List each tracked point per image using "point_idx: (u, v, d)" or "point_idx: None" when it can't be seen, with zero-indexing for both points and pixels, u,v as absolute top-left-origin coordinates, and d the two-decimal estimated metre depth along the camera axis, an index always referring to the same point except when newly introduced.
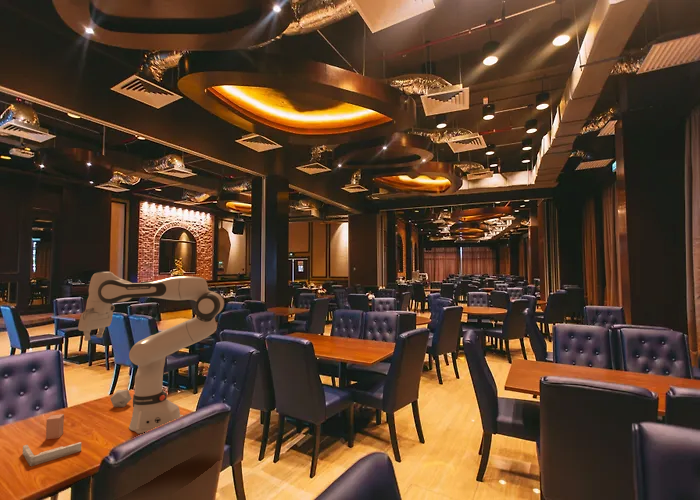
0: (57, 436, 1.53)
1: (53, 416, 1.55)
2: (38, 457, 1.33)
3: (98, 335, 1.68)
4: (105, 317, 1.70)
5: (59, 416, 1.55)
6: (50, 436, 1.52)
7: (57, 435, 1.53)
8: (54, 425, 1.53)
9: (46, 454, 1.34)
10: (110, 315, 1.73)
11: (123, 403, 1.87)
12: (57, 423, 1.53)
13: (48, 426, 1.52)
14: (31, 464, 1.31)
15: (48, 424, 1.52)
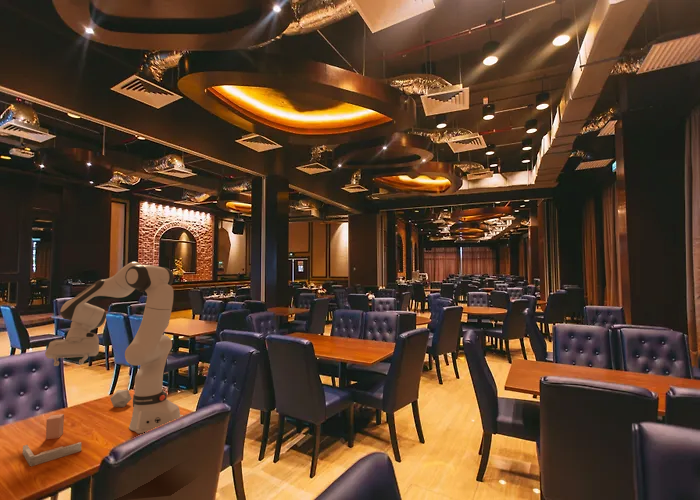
0: (57, 436, 1.53)
1: (53, 416, 1.55)
2: (38, 457, 1.33)
3: None
4: (85, 344, 1.75)
5: (59, 416, 1.55)
6: (50, 436, 1.52)
7: (57, 435, 1.53)
8: (54, 425, 1.53)
9: (46, 454, 1.34)
10: (92, 342, 1.76)
11: (123, 403, 1.87)
12: (57, 423, 1.53)
13: (48, 426, 1.52)
14: (31, 464, 1.31)
15: (48, 424, 1.52)
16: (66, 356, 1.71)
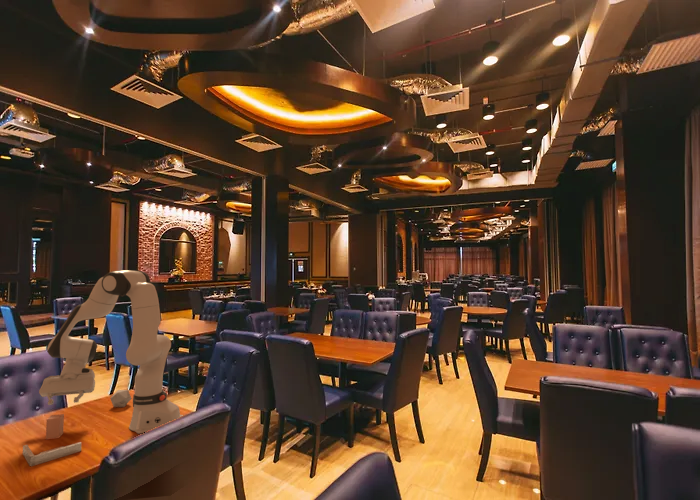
0: (57, 436, 1.53)
1: (53, 416, 1.55)
2: (38, 457, 1.33)
3: None
4: (80, 381, 1.70)
5: (59, 416, 1.55)
6: (50, 436, 1.52)
7: (57, 435, 1.53)
8: (54, 425, 1.53)
9: (46, 454, 1.34)
10: (88, 378, 1.71)
11: (123, 403, 1.87)
12: (57, 423, 1.53)
13: (48, 426, 1.52)
14: (31, 464, 1.31)
15: (48, 424, 1.52)
16: (61, 394, 1.66)
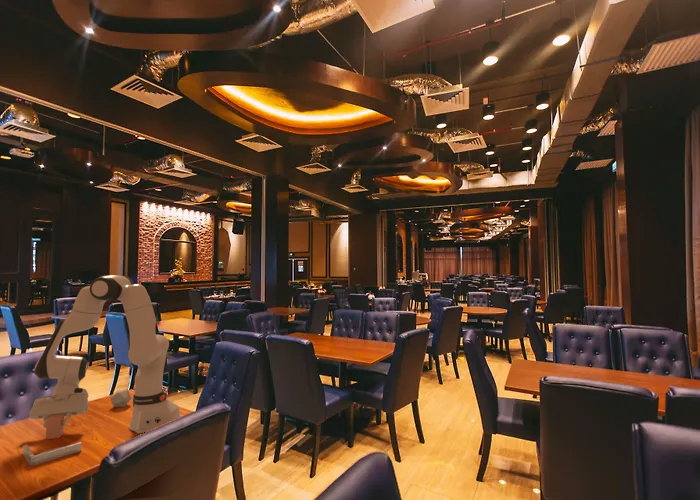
0: (57, 436, 1.53)
1: (53, 416, 1.55)
2: (38, 457, 1.33)
3: None
4: (73, 401, 1.61)
5: (59, 416, 1.55)
6: (50, 436, 1.52)
7: (57, 435, 1.53)
8: (54, 425, 1.53)
9: (46, 454, 1.34)
10: (81, 398, 1.63)
11: (123, 403, 1.87)
12: (57, 422, 1.53)
13: (48, 426, 1.52)
14: (31, 464, 1.31)
15: (48, 424, 1.52)
16: None
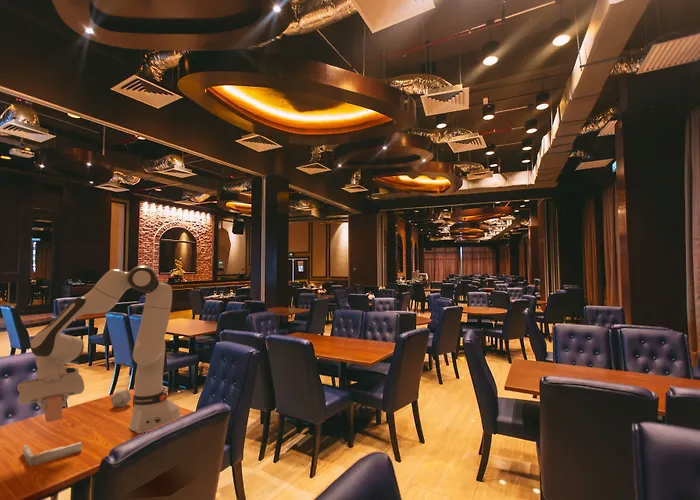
0: (59, 417, 1.43)
1: (51, 398, 1.43)
2: (38, 457, 1.33)
3: None
4: (67, 382, 1.50)
5: (59, 397, 1.44)
6: (52, 418, 1.41)
7: (59, 416, 1.43)
8: (56, 406, 1.42)
9: (46, 454, 1.34)
10: (76, 378, 1.52)
11: (123, 403, 1.87)
12: (59, 403, 1.43)
13: (49, 408, 1.40)
14: (31, 464, 1.31)
15: (50, 406, 1.41)
16: (45, 399, 1.44)
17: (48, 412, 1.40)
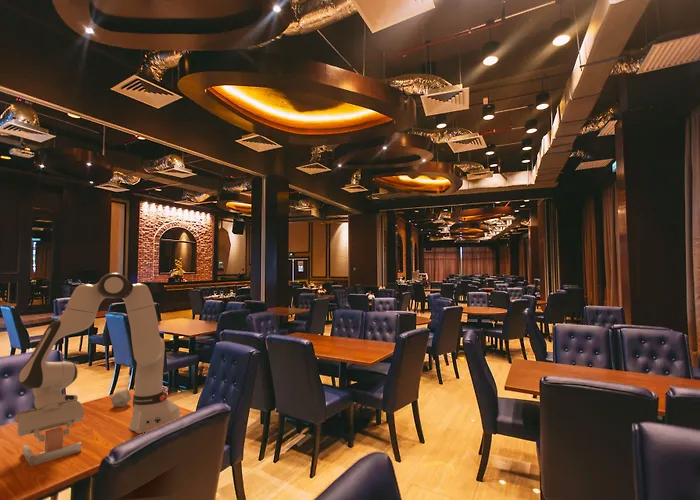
0: None
1: (51, 431, 1.41)
2: (38, 457, 1.33)
3: (64, 432, 1.43)
4: (66, 410, 1.48)
5: (59, 429, 1.42)
6: None
7: None
8: (57, 439, 1.40)
9: (46, 454, 1.34)
10: (75, 405, 1.50)
11: (123, 403, 1.87)
12: (60, 436, 1.41)
13: (50, 441, 1.38)
14: (31, 464, 1.31)
15: (50, 439, 1.38)
16: (44, 428, 1.42)
17: (49, 446, 1.38)
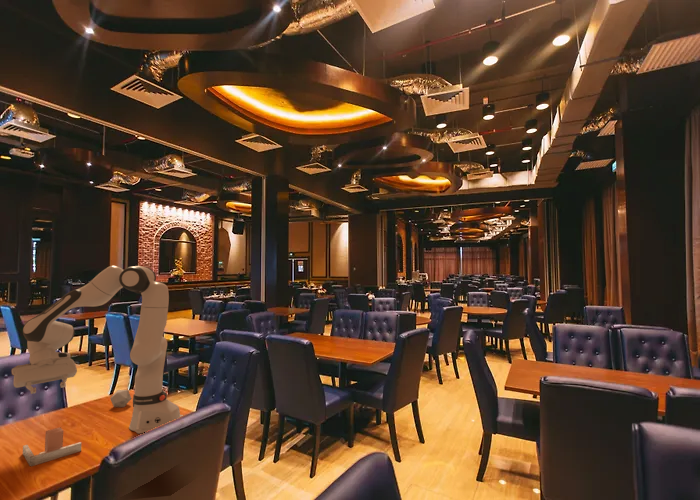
0: None
1: (51, 431, 1.41)
2: (38, 457, 1.33)
3: (60, 385, 1.53)
4: (59, 366, 1.57)
5: (59, 429, 1.42)
6: None
7: None
8: (57, 439, 1.40)
9: (46, 454, 1.34)
10: (68, 362, 1.60)
11: (123, 403, 1.87)
12: (60, 436, 1.41)
13: (50, 441, 1.38)
14: (31, 464, 1.31)
15: (50, 439, 1.38)
16: (39, 382, 1.51)
17: (49, 446, 1.38)
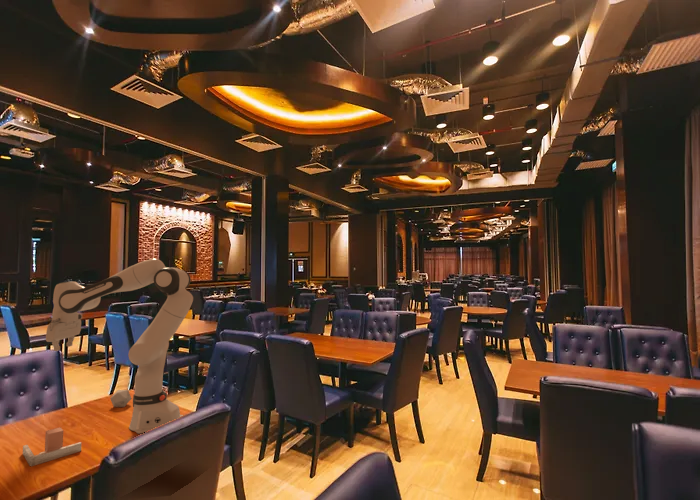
0: None
1: (51, 431, 1.41)
2: (38, 457, 1.33)
3: (68, 344, 1.71)
4: (73, 326, 1.72)
5: (59, 429, 1.42)
6: None
7: None
8: (57, 439, 1.40)
9: (46, 454, 1.34)
10: (78, 323, 1.75)
11: (123, 403, 1.87)
12: (60, 436, 1.41)
13: (50, 441, 1.38)
14: (31, 464, 1.31)
15: (50, 439, 1.38)
16: None
17: (49, 446, 1.38)
